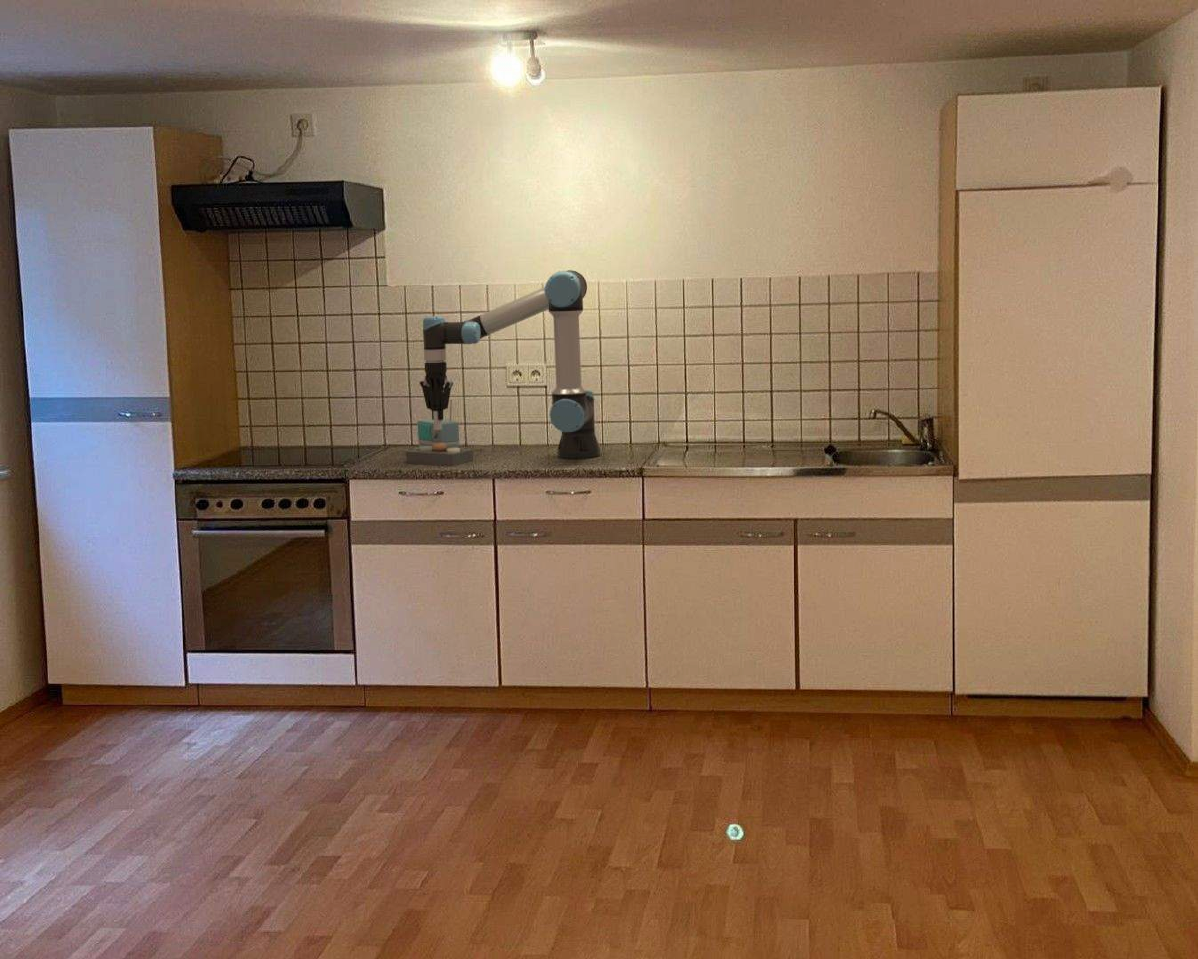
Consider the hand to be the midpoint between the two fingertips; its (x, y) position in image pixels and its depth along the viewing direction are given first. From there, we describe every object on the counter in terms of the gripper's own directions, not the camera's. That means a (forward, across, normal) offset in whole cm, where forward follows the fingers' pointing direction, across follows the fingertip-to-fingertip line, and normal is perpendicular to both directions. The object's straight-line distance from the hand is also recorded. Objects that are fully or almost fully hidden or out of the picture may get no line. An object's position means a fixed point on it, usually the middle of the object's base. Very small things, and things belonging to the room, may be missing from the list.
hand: (438, 429), depth 509 cm
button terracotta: (+7, 0, 0) cm, 7 cm away
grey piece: (+11, 0, 0) cm, 11 cm away
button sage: (+9, +6, 0) cm, 11 cm away
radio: (+12, +13, -16) cm, 24 cm away
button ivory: (+9, -6, 0) cm, 11 cm away
